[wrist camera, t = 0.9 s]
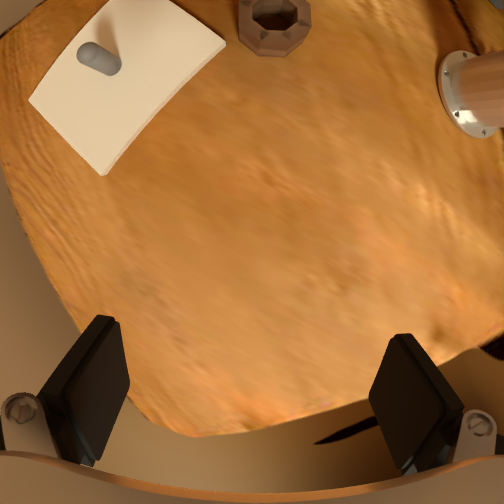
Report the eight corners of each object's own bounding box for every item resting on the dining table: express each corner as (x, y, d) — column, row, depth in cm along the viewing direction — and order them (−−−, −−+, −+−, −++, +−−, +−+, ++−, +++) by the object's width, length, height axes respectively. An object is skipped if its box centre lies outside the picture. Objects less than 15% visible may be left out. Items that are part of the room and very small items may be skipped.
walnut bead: (270, -3, 26) (273, -24, 21) (314, 33, 27) (325, 16, 22) (226, 30, 27) (223, 12, 22) (271, 68, 29) (276, 54, 24)
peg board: (137, -17, 24) (113, -49, 16) (226, 45, 28) (220, 14, 19) (34, 101, 28) (-8, 96, 20) (106, 174, 32) (68, 183, 24)
